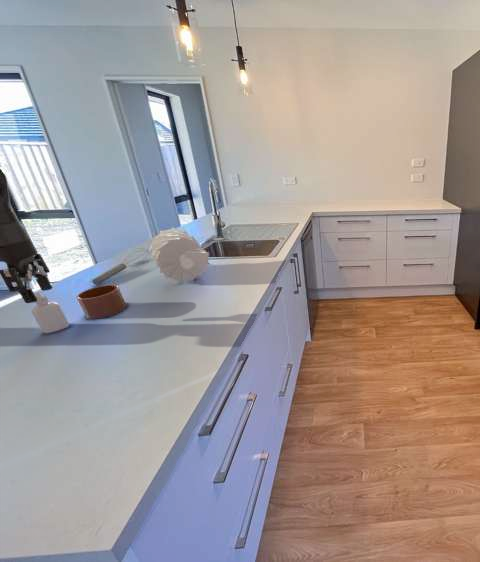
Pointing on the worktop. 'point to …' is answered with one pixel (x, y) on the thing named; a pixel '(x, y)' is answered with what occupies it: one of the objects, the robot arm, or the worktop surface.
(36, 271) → the robot arm
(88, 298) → the cup
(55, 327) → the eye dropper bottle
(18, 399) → the worktop surface
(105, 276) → the kitchen whisk
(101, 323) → the worktop surface
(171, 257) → the spiral staircase
